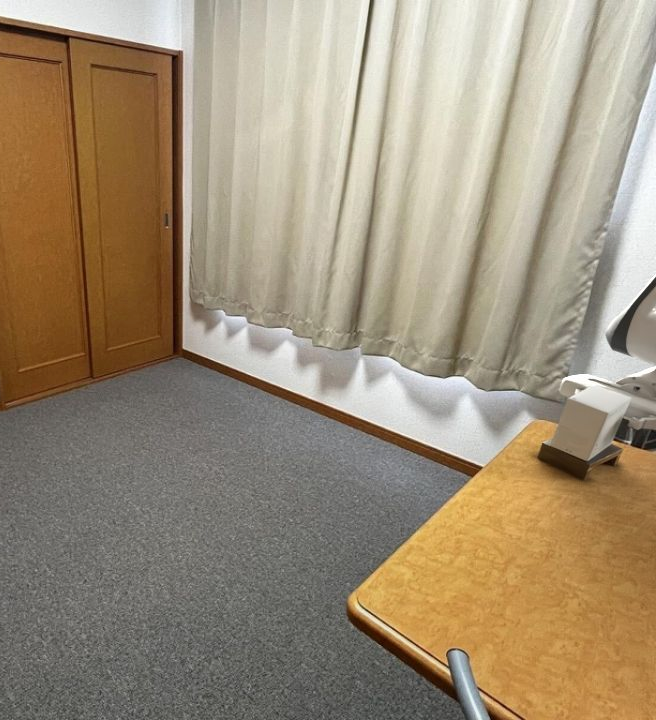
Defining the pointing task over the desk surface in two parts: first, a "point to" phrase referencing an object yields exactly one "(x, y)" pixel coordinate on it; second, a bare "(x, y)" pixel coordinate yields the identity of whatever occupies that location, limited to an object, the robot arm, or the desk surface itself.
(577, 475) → the dark bridge stand
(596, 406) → the cosmetics box
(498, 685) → the desk surface
